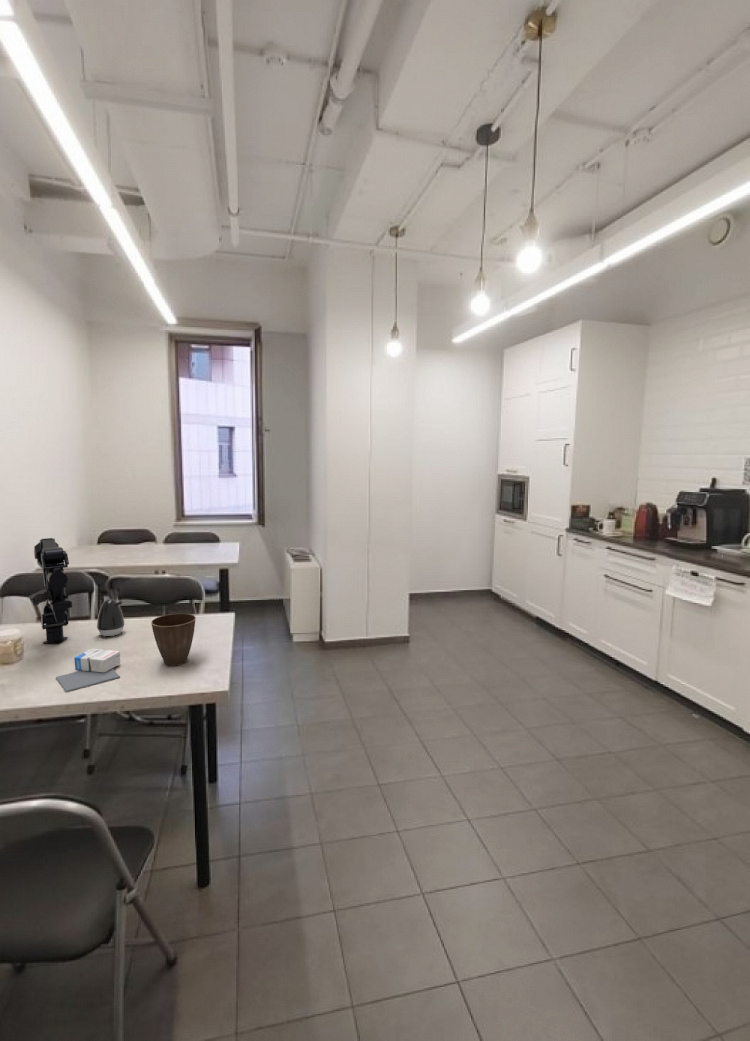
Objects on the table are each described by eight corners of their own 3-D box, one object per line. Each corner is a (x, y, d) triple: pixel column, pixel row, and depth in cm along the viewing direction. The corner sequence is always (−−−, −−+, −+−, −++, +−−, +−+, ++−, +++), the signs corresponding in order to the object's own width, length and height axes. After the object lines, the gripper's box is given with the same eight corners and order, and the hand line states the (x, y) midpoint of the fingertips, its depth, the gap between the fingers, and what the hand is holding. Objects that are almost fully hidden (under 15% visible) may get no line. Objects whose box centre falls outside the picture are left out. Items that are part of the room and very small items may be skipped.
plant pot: (143, 666, 183) (141, 623, 181) (173, 651, 197) (171, 611, 195) (177, 673, 178) (175, 628, 176) (205, 657, 192) (204, 615, 189)
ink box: (74, 670, 178) (104, 673, 175) (73, 656, 177) (103, 660, 175) (92, 660, 186) (121, 663, 184) (91, 647, 185) (120, 650, 183)
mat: (55, 678, 173) (55, 676, 173) (107, 665, 184) (107, 663, 184) (66, 692, 163) (66, 690, 163) (120, 677, 173) (120, 676, 173)
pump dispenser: (117, 639, 210) (115, 602, 208) (92, 638, 210) (90, 602, 208) (130, 630, 220) (128, 596, 218) (105, 630, 220) (103, 595, 218)
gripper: (24, 580, 192) (28, 621, 194) (35, 590, 179) (38, 633, 181) (59, 576, 200) (61, 615, 202) (71, 585, 186) (74, 626, 188)
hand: (58, 622), depth 193 cm, fingers closed
